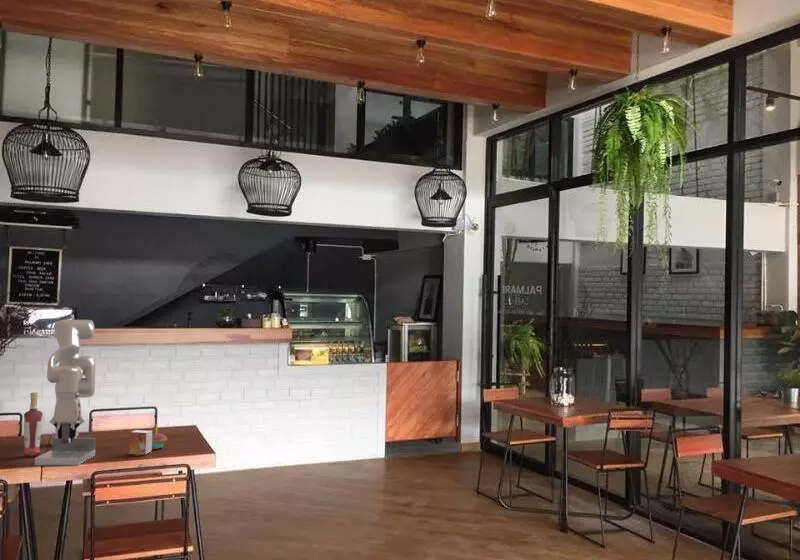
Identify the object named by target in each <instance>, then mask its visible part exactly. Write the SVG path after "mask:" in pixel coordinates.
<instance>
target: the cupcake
mask: <svg viewBox="0 0 800 560" xmlns="http://www.w3.org/2000/svg"><path fill="white" fill-rule="evenodd" d="M167 440H168V438H167V435H165V434H163V433H158V423H155V433H152V448H160V447H162V448H163V447H164V445H165V442H167Z"/></svg>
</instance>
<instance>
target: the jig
mask: <svg viewBox="0 0 800 560" xmlns="http://www.w3.org/2000/svg"><path fill="white" fill-rule="evenodd" d="M51 439H52V440H51V443H52V445H51V450H49V451H47V452H45V453H43V454H39V455H38V456H36V457H34V466H81V465H82V464H83V462H84V461H85V462H87V461H88V460H87V459H89V458H90V459H92V458H94V457H95V456H96V442H97V441H96V437H77V438H73V439H72V442H71V443H61V439H58V438H55V437H53V438H51ZM93 456H94V457H93ZM91 457H92V458H91ZM90 459H89V460H90ZM86 460H87V461H86ZM85 462H84V463H85ZM81 463H82V464H81Z"/></svg>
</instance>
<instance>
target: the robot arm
mask: <svg viewBox="0 0 800 560" xmlns="http://www.w3.org/2000/svg"><path fill="white" fill-rule="evenodd" d="M53 327H54V328H53V331H54V335H55V338H56V340H57V343H58V346H59V348H57V349H56V350H55V351H54V352H53V353H52V354H51V356H50V357H49V359H48V362H47V369H46V379H47V381H48V382H49V383H51V384H55V385H54V392H55V400H56V402H55V406H54V413H53V417H52V418H51V419H50V421H49V423H50V424H51V425H53V426H54V427H55V436H54V438H58V439H61V424H63V423H71V426H72V430H71V433H70V439H73V438H78V436H79V435H80V434H79V432H78V428H79V427H80V425H82V424H83V423H85V420H84V419H83V416H82V406H81V405H82V404H81V399H82V398H91V397H93V396H94V394H95V390H96V361H95V359H94V357H93V356H91V355H80V351H81V350H80V349H81V340H93V338H94V336H95V323H94V321H93V320H91V319H61V320H57V321H55V323H54V326H53ZM57 364H58V365H57ZM51 446H52V442H51Z"/></svg>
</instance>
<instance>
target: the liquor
mask: <svg viewBox="0 0 800 560" xmlns="http://www.w3.org/2000/svg"><path fill="white" fill-rule="evenodd" d="M37 400H38V392H30V405H29V410H28V411H26V412H24V414H23V433H24V435H23V437H24V440H23V441H24V445H23V450H24V451H23V453H22V455H23V456H25V458H36V457H38V456H40V455H41V451H40V448H41V436H42V435H41V434H42V425H43V416H44V415H43V412H42V411H41V410H38V401H37Z"/></svg>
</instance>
